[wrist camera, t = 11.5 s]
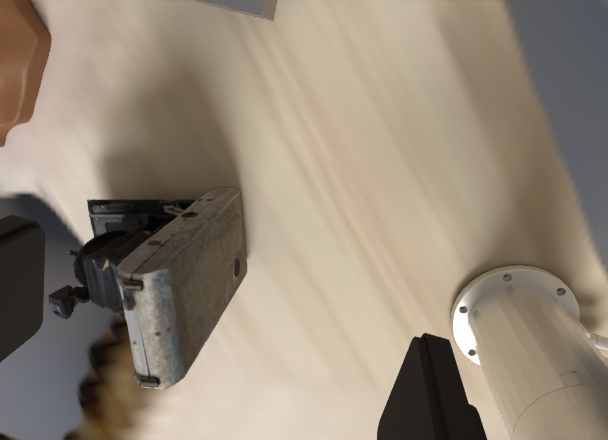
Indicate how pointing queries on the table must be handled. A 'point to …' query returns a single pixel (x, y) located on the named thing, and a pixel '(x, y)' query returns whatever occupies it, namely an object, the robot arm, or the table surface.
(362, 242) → the table surface
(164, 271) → the vintage camera
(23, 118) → the plant
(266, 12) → the grey hollow block
